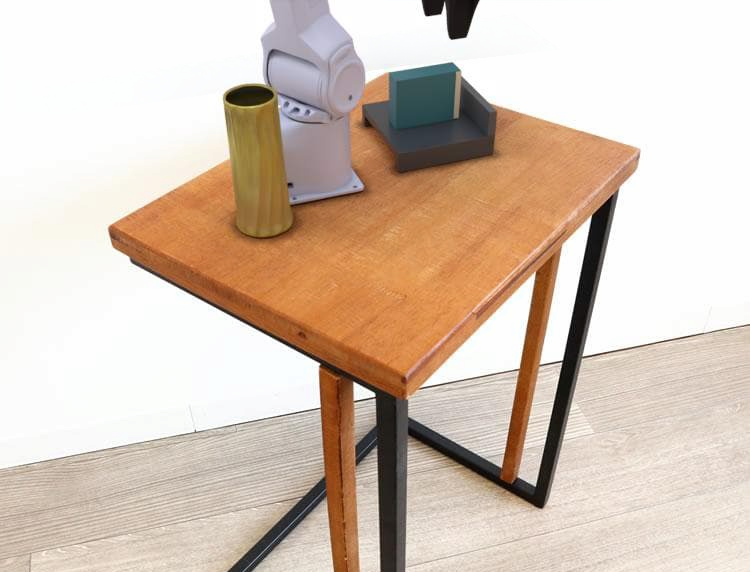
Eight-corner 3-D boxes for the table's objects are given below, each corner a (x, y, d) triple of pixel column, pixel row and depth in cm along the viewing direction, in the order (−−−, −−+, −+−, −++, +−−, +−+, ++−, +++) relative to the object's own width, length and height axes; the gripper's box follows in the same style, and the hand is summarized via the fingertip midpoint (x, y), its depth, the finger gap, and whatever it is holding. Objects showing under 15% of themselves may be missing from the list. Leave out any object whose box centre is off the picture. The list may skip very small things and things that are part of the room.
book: (458, 118, 101) (461, 70, 97) (396, 130, 99) (396, 81, 95) (450, 109, 103) (452, 61, 99) (388, 120, 101) (388, 72, 97)
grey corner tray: (398, 173, 97) (399, 128, 93) (362, 123, 106) (361, 81, 102) (493, 154, 100) (497, 111, 96) (450, 107, 109) (452, 66, 105)
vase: (224, 228, 89) (204, 100, 79) (258, 201, 93) (242, 76, 83) (272, 244, 87) (257, 115, 77) (304, 215, 91) (294, 89, 81)
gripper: (513, -86, 88) (501, 43, 98) (457, -120, 98) (451, 0, 108) (451, -78, 87) (445, 52, 96) (401, -113, 96) (400, 8, 106)
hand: (445, 26), depth 102 cm, fingers open, 7 cm apart
